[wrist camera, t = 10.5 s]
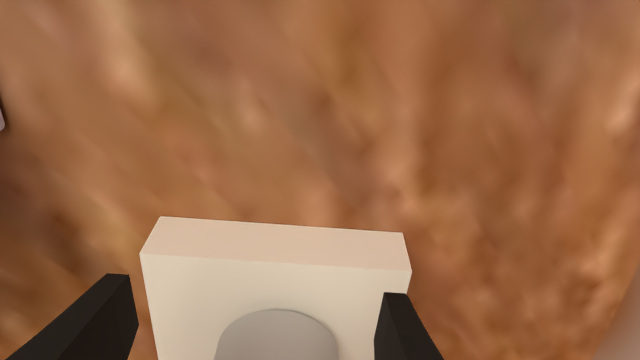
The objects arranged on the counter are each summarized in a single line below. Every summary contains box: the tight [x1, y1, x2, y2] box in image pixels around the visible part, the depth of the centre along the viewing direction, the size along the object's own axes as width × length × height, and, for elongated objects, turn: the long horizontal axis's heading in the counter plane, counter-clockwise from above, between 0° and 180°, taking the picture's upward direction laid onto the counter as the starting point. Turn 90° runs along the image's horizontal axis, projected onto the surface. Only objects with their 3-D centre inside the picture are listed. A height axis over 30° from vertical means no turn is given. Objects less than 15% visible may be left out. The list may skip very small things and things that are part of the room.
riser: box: [139, 216, 412, 360], centre depth 25 cm, size 13×13×3 cm
